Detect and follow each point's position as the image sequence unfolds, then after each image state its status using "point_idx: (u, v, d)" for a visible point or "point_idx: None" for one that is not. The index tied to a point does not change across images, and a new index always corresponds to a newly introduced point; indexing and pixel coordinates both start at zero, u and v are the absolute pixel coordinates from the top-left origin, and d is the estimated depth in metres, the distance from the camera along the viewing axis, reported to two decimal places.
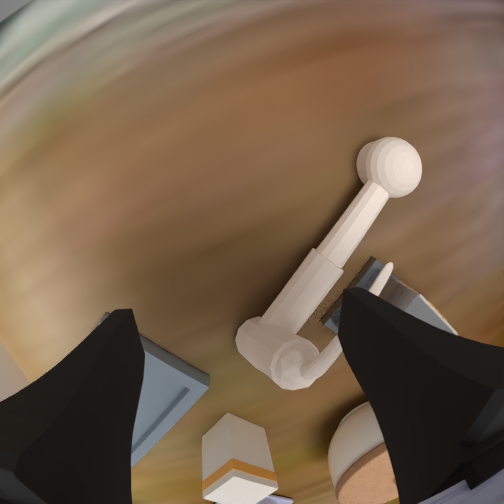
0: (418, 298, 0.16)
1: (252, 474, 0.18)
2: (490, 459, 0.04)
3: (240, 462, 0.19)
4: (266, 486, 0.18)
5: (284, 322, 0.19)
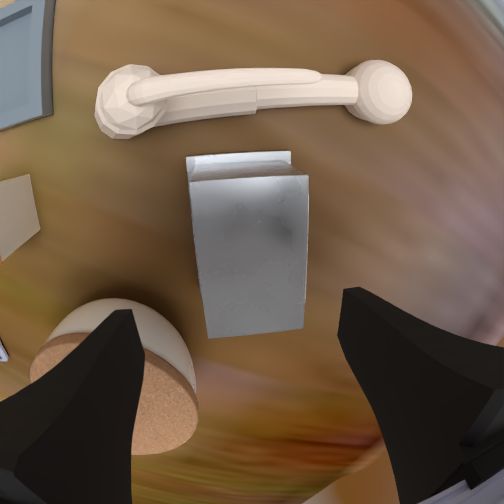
0: (306, 181, 0.13)
1: None
2: (490, 459, 0.04)
3: None
4: None
5: None
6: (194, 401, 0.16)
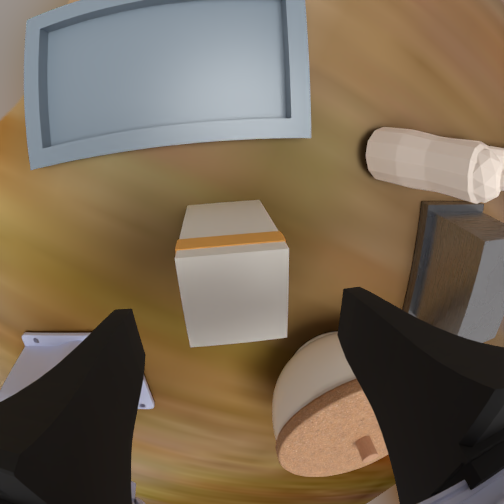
0: None
1: None
2: (490, 459, 0.04)
3: None
4: (285, 317, 0.12)
5: None
6: None
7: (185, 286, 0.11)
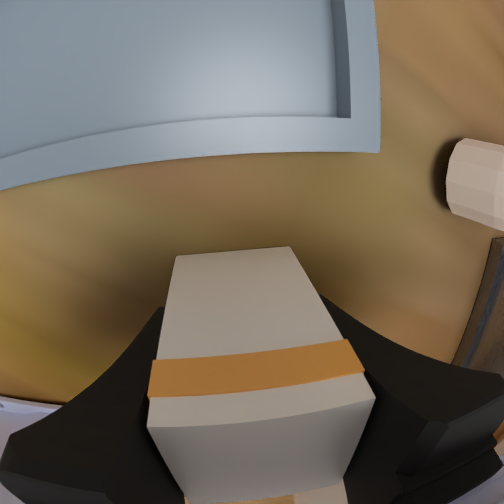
0: None
1: None
2: (434, 491, 0.04)
3: None
4: (342, 469, 0.06)
5: None
6: None
7: (174, 457, 0.05)
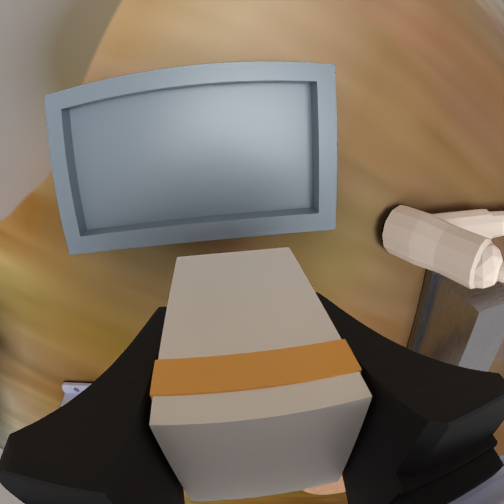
0: None
1: None
2: (435, 491, 0.04)
3: None
4: (341, 466, 0.06)
5: None
6: None
7: (175, 455, 0.05)
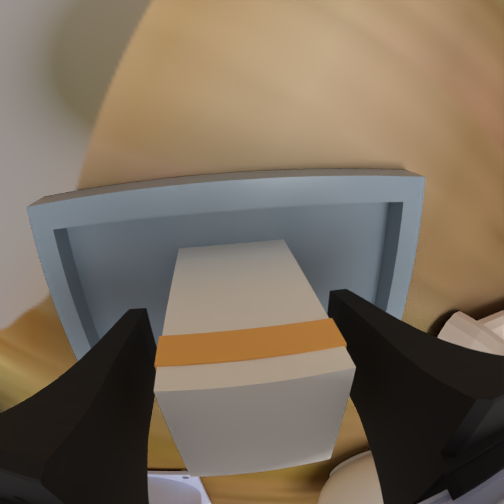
0: None
1: None
2: (474, 469, 0.04)
3: None
4: (331, 442, 0.07)
5: None
6: None
7: (176, 424, 0.06)
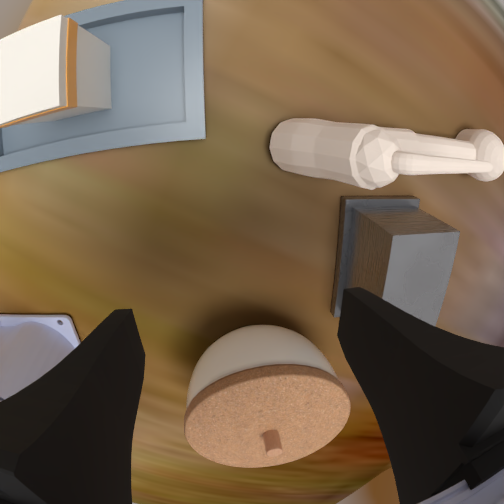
0: (457, 236, 0.15)
1: (67, 53, 0.09)
2: (490, 459, 0.04)
3: (75, 36, 0.09)
4: (56, 80, 0.09)
5: None
6: (349, 409, 0.18)
7: None
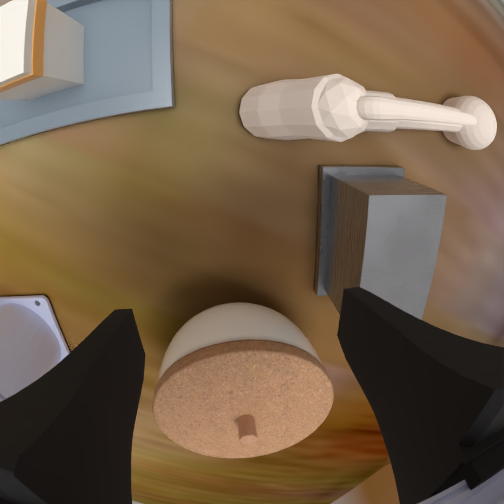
0: (444, 200, 0.14)
1: (34, 26, 0.08)
2: (490, 459, 0.04)
3: (44, 12, 0.08)
4: (22, 50, 0.08)
5: None
6: (333, 394, 0.17)
7: None
